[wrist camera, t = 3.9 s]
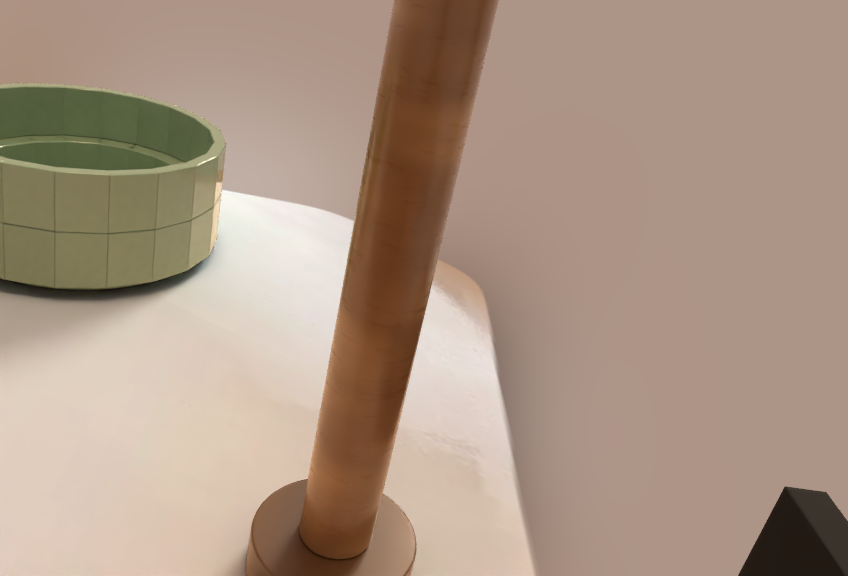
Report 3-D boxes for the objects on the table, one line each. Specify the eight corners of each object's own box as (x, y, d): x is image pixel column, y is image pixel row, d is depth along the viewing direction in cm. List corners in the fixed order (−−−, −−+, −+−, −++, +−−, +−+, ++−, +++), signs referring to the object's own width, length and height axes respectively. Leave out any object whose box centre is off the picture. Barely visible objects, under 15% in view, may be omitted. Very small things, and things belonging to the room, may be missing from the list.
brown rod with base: (405, 520, 27) (543, -14, 19) (409, 646, 22) (591, 15, 15) (258, 502, 26) (340, -59, 19) (232, 627, 22) (326, -43, 14)
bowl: (233, 212, 47) (244, 114, 44) (183, 320, 35) (193, 196, 33) (2, 172, 45) (-1, 68, 43) (-132, 271, 34) (-148, 136, 31)
